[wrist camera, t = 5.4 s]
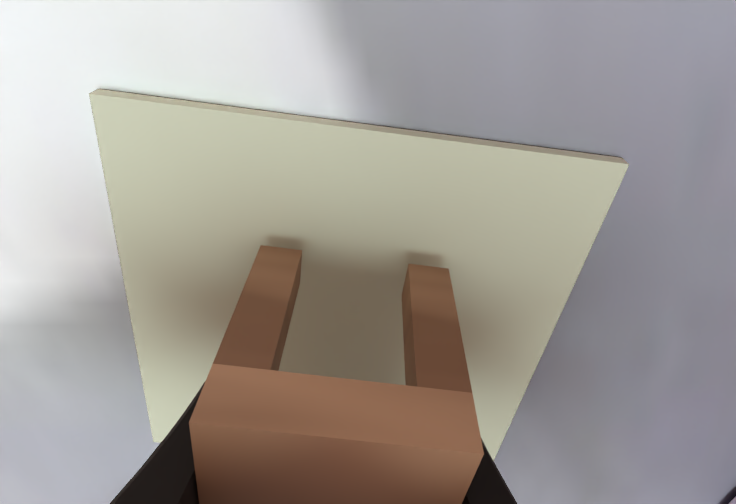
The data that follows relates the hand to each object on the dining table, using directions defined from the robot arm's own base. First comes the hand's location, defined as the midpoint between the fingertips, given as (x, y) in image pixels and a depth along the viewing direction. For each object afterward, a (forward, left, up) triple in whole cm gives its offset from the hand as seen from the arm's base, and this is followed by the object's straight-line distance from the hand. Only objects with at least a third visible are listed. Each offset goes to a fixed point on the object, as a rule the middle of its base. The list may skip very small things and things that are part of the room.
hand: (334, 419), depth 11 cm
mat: (0, 0, -3) cm, 3 cm away
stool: (0, +1, -2) cm, 2 cm away
